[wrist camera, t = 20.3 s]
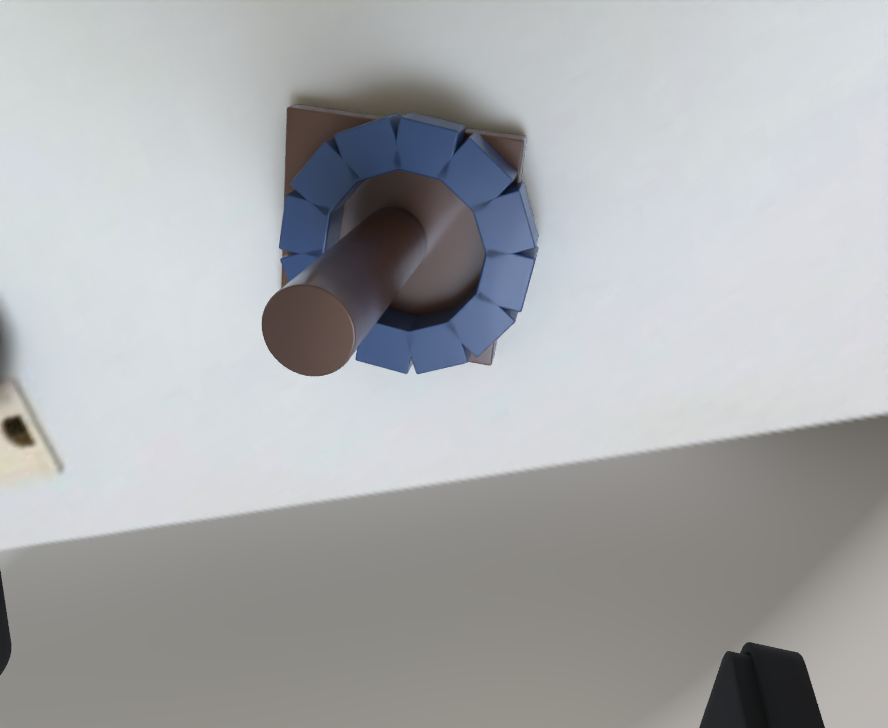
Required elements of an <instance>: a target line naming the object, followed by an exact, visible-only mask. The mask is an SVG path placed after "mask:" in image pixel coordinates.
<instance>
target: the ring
mask: <svg viewBox="0 0 888 728" xmlns="http://www.w3.org/2000/svg"><path fill="white" fill-rule="evenodd" d="M465 131H466V126H465V125H462V124H458V123H454V122H450V121H446V120H442V119H438V118H434V117H430V116H426V115H422V114H418V113H414V112H410V113H408V114H406V115H404V116H402V117H401V114H400V113H395V114H392V115H389V116H386V117H383V118H379V119H376V120H373V121H370V122H367V123H364V124H361V125H358V126H355V127H352V128H349V129H346V130H344V131H342V132H339V133H337V134H335V135H334V138H332V139H330V140H327V141H325V142H323V144H322V145H321V146H320V147H319V149H318V150H317V151H316V152H315V154H314V155H313V156H312V157H311V158H310V160H309V161H308V162H307V163H306V165H305V166H304V167H303V168H302V170H301V171H300V172H299V173H298V175H297V176H296V177H295V178H294V180H293V181H292V182H291V184H290V185H291V186H292V187H293V188H294V189H295V190H293V191H292V192H290V193H288V194H286V197H285V204H284V212H283V220H282V228H281V235H280V243H279V248H280V249H282V250H286V251H290V252H289V253H288V254H286V255H285V256H284V257H282V258H281V259H280V260H281V263H282V266H283V268H284V271H285V273H286V276H287V278H288V281H289V282H290V281H291V280H292V279H294V278H295V277H296V276H297V275H298V274H300V273H301V272H302V271H303V270H304V269H306V268H307V267H308V266H309V265H310V264H312V263H313V262H314V261H315V260H317V259H318V258H319V257H320V256H321V255H323V254H324V253H325V252H326V251H327V250H329V249H330V248H331V247H332V246H333V245H335V244H336V243H337V242H338V240H339V234H340V227H341V221H342V215H343V209H344V204H345V203H346V202H347V200H348V199H349V198H350V197H351V196H352V195H353V193H354V192H355V191H356V190H357V189H358V187H359V186H360V185H361V184H362V183H363V182H364V180H366V179H369V178H372V177H376V176H379V175H382V174H385V173H389V172H392V171H395V170H402V171H406V172H410V173H414V174H418V175H422V176H426V177H430V178H434V179H438V180H441V181H442V182H443V183H444V184H445V185H446V186H447V187H448V188H449V189H450V190H451V191H452V192H453V193H454V194H455V195H456V196H457V197H459V198H460V199H461V200H462V201H463V202H464V203H465V204H466V205H467V206H468V207H469V208H470V209H471V210H472V211H473V213H474V216H475V220H476V223H477V226H478V230H479V233H480V236H481V240H482V243H483V246H484V249H485V253H486V254H485V258H484V262H483V266H482V270H481V274H480V278H479V282H478V284H477V285H476V286H475V287H474V288H473V289H472V290H471V291H470V292H469V293H468V294H467V295H466V296H465V297H464V298H463V299H462V300H461V301H460V302H459V303H458V304H457V305H456V306H455V307H453V308H449V309H445V310H441V311H437V312H433V313H429V314H425V315H421V316H415V315H411V314H408V313H404V312H400V311H396V310H393V309H389V308H387V309H386V310H385V312H384V313H383V314H382V316H381V317H380V319H379V320H378V321H377V323H376V324H375V325H374V327H373V328H372V329H371V331H370V332H369V333H368V335H367V336H366V337H365V339H364V340H363V341H362V343H361V344H360V345H359V347H358V348H357V353H356V360H357V361H361V362H364V363H368V364H372V365H375V366H379V367H383V368H386V369H390V370H394V371H397V372H401V373H405V374H407V373H408V371H409V369H410V368H411V366H412V364H414V367H415V370H416V373H417V374H421V373H425V372H429V371H434V370H438V369H442V368H447V367H451V366H455V365H460V364H464V363H468V361H469V359H470V356H471V353H472V354H473V355H474V356H476V357H479V356H480V355H481V354H482V353H483V352H484V351H485V350H486V349H487V348H488V347H489V346H490V345H491V344H492V343H493V342H495V341H496V340H497V339H498V338H499V337H500V336H501V335H502V334H503V333H504V332H505V331H506V330H507V329H508V328H509V327H510V326H511V325H513V324H514V323H515V321H516V317H517V314H518V312H521V311H522V308H523V304H524V301H525V297H526V293H527V290H528V286H529V282H530V279H531V275H532V271H533V267H534V264H535V260H536V256H537V252H538V247H537V246H536V243H537V240H538V236H539V235H538V231H537V227H536V224H535V220H534V217H533V213H532V209H531V206H530V202H529V198H528V195H527V191H526V188H525V184H524V182H519V183H516V184H512V185H510V184H511V183H512V182H513V180H514V178H515V177H516V175H517V173H518V172H517V170H516V169H515V168H514V167H513V166H512V165H511V164H510V163H508V162H507V161H506V160H505V159H504V158H503V157H502V156H501V155H500V154H499V153H498V152H497V151H496V150H495V149H494V148H493V147H492V146H491V145H490V144H489V143H488V142H487V141H486V140H485V139H484V138H483V137H482V136H481V135H480V134H479V133H478V132H474V133H473V134H472V135H471V136H470V137H468V138H467V140H466V141H465V142H464V143H463V140H464V136H465Z"/></svg>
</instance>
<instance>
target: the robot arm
mask: <svg viewBox="0 0 888 728" xmlns="http://www.w3.org/2000/svg"><path fill="white" fill-rule="evenodd" d="M10 654H11V639H10V633H9V626H8V619H7V612H6V605H5V600H4V592H3V586H2V579H1V572H0V675H1V673H2V672H3V671H4V669H5V667H6V665H7V663H8V661H9V658H10ZM700 728H825V727H824V724H823V720H822V717H821V714H820V710H819V707H818V704H817V701H816V697H815V694H814V691H813V688H812V684H811V681H810V678H809V674H808V671H807V668H806V665H805V662H804V660H803V657H802V656H801V655H800V654H799V653H797V652H792V651H788V650H783V649H779V648H774V647H769V646H765V645H760V644H755V643H751V642H749V643H746V644H745V645H744V646H743V648H742V650H741V652H740V653H735V652H731V651H727V652H726V653H725V655H724V657H723V659H722V662H721V665H720V668H719V671H718V674H717V677H716V680H715V683H714V686H713V689H712V692H711V695H710V698H709V701H708V704H707V707H706V710H705V713H704V716H703V719H702V721H701V724H700Z"/></svg>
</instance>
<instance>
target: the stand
mask: <svg viewBox="0 0 888 728" xmlns="http://www.w3.org/2000/svg"><path fill="white" fill-rule="evenodd" d="M383 117H384V116H377V115H370V114H363V113H355V112H348V111H341V110H334V109H327V108H320V107H312V106H305V105H294V106H290V107H288V108H287V124H286V156H285V189H284V204H285V197H286V194H288V193H290V192H292V191H293V190H295V189H294V188H293V187H292V186H291V185H290V184H291V182H292V181H293V180H294V178H295V177H296V176H297V175H298V173H299V172H300V171H301V170H302V168H303V167H304V166H305V165H306V163H307V162H308V161H309V160H310V158H311V157H312V156H313V155H314V154H315V152H316V151H317V150H318V149H319V147H320V146H321V145H322V144H323V142H325V141H327V140H330V139H332V138H334V135H335V134H337V133H339V132H342V131H344V130H346V129H349V128H352V127H355V126H358V125H361V124H364V123H367V122H370V121H373V120H376V119H379V118H383ZM474 132H478V133H479V134H480V135H481V136H482V137H483V138H484V139H485V140H486V141H487V142H488V143H489V144H490V145H491V146H492V147H493V148H494V149H495V150H496V151H497V152H498V153H499V154H500V155H501V156H502V157H503V158H504V159H505V160H506V161H507V162H508V163H510V164H511V165H512V166H513V167H514V168H515V169H516V170H517V172H518V173H517V175H516V177H515V178H514V180H513V182H512V183H511V184H510V185H512V184H516V183H519V182H521V175H522V168H523V162H524V155H525V148H526V142H527V137H525V136H520V135H513V134H506V133H499V132H492V131H485V130H477V129H470V128H466V131H465V136H464V140H463V143H464V142H465V141H466V140H467V138H468V137H470V136H471V135H472V134H473V133H474ZM289 252H290V251H286V250H283V254H282V257H284V256H285V255H286V254H288V253H289ZM485 254H486V253H485V249H484V246H483V243H482V240H481V236H480V233H479V230H478V226H477V223H476V220H475V216H474V213H473V211H472V210H471V209H470V208H469V207H468V206H467V205H466V204H465V203H464V202H463V201H462V200H461V199H460V198H459V197H457V196H456V195H455V194H454V193H453V192H452V191H451V190H450V189H449V188H448V187H447V186H446V185H445V184H444V183H443V182H442V181H441V180H438V179H434V178H430V177H426V176H422V175H418V174H414V173H410V172H406V171H402V170H395V171H392V172H389V173H385V174H382V175H379V176H376V177H372V178H369V179H366V180H364V182H363V183H362V184H361V185H360V186H359V187H358V189H357V190H356V191H355V192H354V193H353V195H352V196H351V197H350V198H349V199H348V200H347V202H346V203H345V204H344V209H343V215H342V221H341V227H340V234H339V240H338V242H337V243H336V244H335V245H333V246H332V247H331V248H330V249H329V250H327V251H326V252H325V253H324V254H323V255H321V256H320V257H319V258H318V259H317V260H315V261H314V262H313V263H312V264H310V265H309V266H308V267H307V268H306V269H304V270H303V271H302V272H301V273H300V274H298V275H297V276H296V277H295V278H294V279H292V280H291V281H290V282H289V281H288V278H287V276H286V273H285V271H284V268H283V266H282V286H281V289H280V290H279V291H278V292H277V293H276V294H275V295H273V296H272V298H271V299H270V300H269V301H268V303H267V305H266V307H265V309H264V312H263V316H262V332H263V337H264V340H265V343H266V345H267V347H268V349H269V350H270V352H271V353H272V355H273V356H274V357H275V358H276V359H277V360H278V361H279V362H280V363H281V364H282V365H283V366H285V367H286V368H288V369H290V370H292V371H294V372H296V373H299V374H302V375H306V376H323V375H327V374H331V373H333V372H335V371H337V370H338V369H340V368H341V367H342V366H344V365H345V364H346V363H347V361H348V360H349V359H350V357H351V356H352V355H353V353H354V352H355V351H356V349H357V348H358V347H359V345H360V344H361V343H362V341H363V340H364V339H365V337H366V336H367V335H368V333H369V332H370V331H371V329H372V328H373V327H374V325H375V324H376V323H377V321H378V320H379V319H380V317H381V316H382V314H383V313H384V312H385V310H386V309H387V308H389V309H393V310H396V311H400V312H404V313H408V314H411V315H415V316H421V315H425V314H429V313H433V312H437V311H441V310H445V309H449V308H453V307H455V306H456V305H457V304H458V303H459V302H460V301H461V300H462V299H463V298H464V297H465V296H466V295H467V294H468V293H469V292H470V291H471V290H472V289H473V288H474V287H475V286H476V285H477V284H478V282H479V278H480V274H481V270H482V266H483V262H484V258H485ZM496 342H497V340H496V341H495V342H493V343H492V344H491V345H490V346H489V347H488V348H487V349H486V350H485V351H484V352H483V353H482V354H481V355H480V356H479V357H476V356H474V355H473V354H472V353H471V356H470V359H469V361H468V362H473V363H479V364H484V365H491V364H492V361H493V358H494V355H495V348H496Z"/></svg>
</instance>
